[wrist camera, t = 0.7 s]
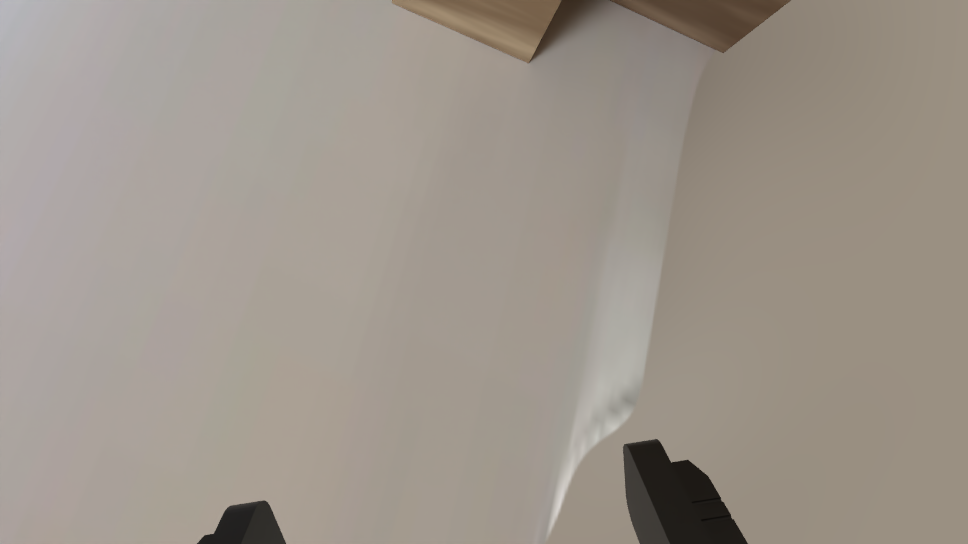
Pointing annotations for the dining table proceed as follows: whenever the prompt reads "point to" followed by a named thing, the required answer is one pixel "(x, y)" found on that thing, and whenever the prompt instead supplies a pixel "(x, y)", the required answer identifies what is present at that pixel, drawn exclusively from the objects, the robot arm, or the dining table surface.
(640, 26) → the dining table surface
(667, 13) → the stand
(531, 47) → the tall wooden block
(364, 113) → the dining table surface
